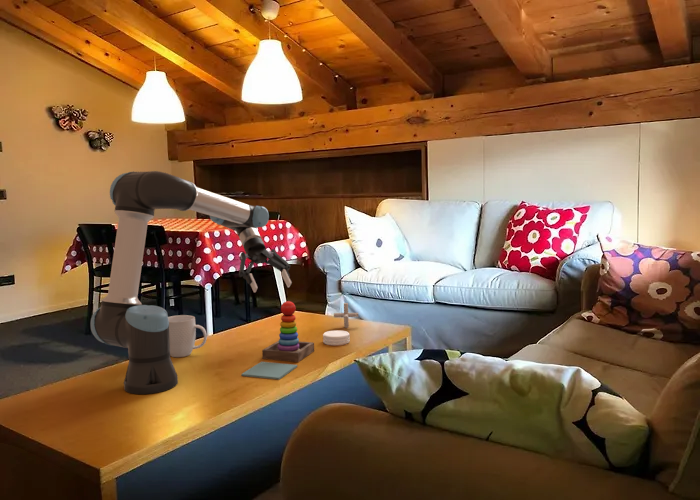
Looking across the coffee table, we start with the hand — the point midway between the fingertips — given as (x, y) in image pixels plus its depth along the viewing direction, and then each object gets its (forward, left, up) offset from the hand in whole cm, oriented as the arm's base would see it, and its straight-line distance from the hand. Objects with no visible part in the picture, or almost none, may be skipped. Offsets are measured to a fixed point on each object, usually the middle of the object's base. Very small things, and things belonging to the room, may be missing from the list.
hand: (273, 287), depth 208 cm
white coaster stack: (+13, -19, -23) cm, 32 cm away
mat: (-25, -11, -22) cm, 35 cm away
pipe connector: (+35, -15, -22) cm, 44 cm away
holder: (-7, -9, -22) cm, 25 cm away
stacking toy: (-7, -9, -22) cm, 25 cm away
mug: (-17, +27, -22) cm, 39 cm away
